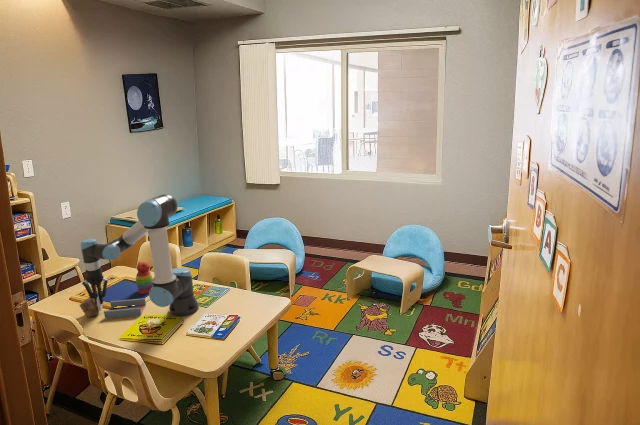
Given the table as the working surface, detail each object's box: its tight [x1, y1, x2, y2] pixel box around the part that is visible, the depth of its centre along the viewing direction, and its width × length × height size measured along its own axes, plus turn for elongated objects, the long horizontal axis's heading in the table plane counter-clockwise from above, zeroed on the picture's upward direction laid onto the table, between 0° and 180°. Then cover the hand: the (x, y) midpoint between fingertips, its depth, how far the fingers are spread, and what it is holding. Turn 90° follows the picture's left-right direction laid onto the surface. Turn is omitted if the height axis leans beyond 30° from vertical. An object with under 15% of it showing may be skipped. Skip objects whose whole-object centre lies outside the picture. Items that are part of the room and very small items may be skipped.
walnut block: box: [79, 297, 100, 319], centre depth 245 cm, size 6×6×8 cm
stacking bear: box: [135, 261, 154, 295], centre depth 271 cm, size 11×10×18 cm
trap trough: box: [103, 297, 147, 320], centre depth 248 cm, size 18×12×4 cm
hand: (100, 309), depth 246 cm, fingers closed
